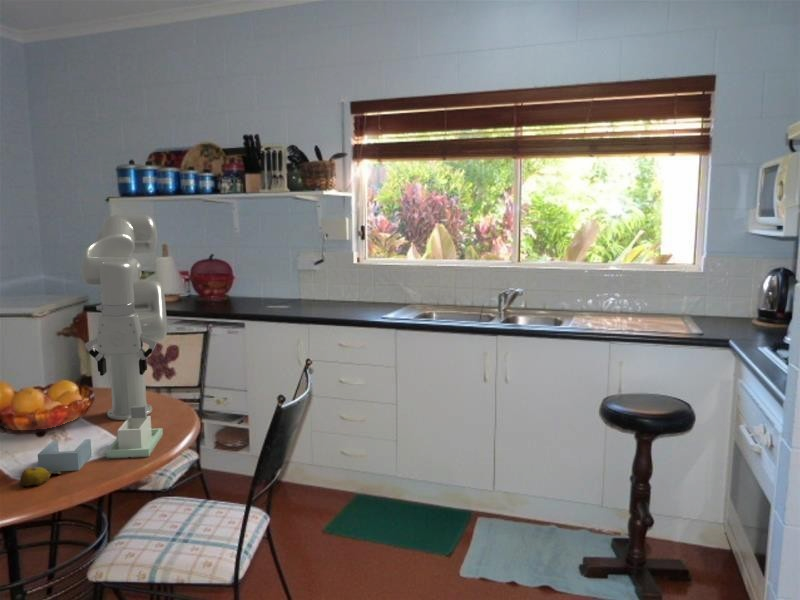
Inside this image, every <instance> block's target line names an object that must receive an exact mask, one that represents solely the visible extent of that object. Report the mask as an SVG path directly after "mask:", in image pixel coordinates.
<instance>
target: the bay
mask: <svg viewBox="0 0 800 600" xmlns="http://www.w3.org/2000/svg"><path fill="white" fill-rule="evenodd" d="M91 441H92V440H91V439H90V438H87V439H84V440H83V441H82V442H81V443H80V445H78V446H77V447H76V448H75V450H70V451H67V450H65V451H64V450H63V451H60V450H59V449H60V448H59V440H52V441H50V443H49V444H47V445H46V446H45V447H44V448H43V449H42V450H41V451H39V453H37V461H38V467H42V468H44V469H46V470H47V471H51V472H56V471H60V472H70V471H71V472H73V471H75V472H76V471H80V470H81V469H82V468H83V466H84V465H85V464H86V463H88V461H89V459H90V458H91V457H92V456H93V455H92V454H93V453H92V442H91ZM91 455H92V456H91Z"/></svg>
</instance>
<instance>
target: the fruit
mask: <svg viewBox="0 0 800 600" xmlns="http://www.w3.org/2000/svg"><path fill="white" fill-rule="evenodd" d="M52 474H53V475H56V474H57V475H61V474H62V471H55V472H51V471H47V470H46V469H44V468H42V467H39V466H38V467H30V468H29V467H28V468H25V469H24V470H23V471H22V473H21V476H20V485H21V487H22V488H25V487H30V486H31V485H33V486H34V485H35V486H41V485H44V484H46V483H47V482H48V481H49V480H50V479H51V478H50V477H51V475H52Z"/></svg>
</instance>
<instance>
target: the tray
mask: <svg viewBox="0 0 800 600" xmlns="http://www.w3.org/2000/svg"><path fill="white" fill-rule="evenodd" d="M163 430H164V429H163V428H162V427H161V428H160V427H158V428H151V432H152V437H151V439H150V440H149V442H148V443H147V445H146V446H145V448H139V449H119V445H118V437H116V439H115V440H114V441H113V443H112V444H111V445H110V446H109V447H108V448H107V450H106V453H105V454H106V459H107V460H108V459H129V458H128V457H131V458H143V457H144V458H147V457H150V456H151V454H152V453H153V451H154V450H155V448H156V446H157V445H158V443H159V442H160V440H161V438H162V437H163V436H164V433H163V432H164V431H163Z"/></svg>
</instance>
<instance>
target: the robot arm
mask: <svg viewBox="0 0 800 600" xmlns="http://www.w3.org/2000/svg"><path fill="white" fill-rule="evenodd" d="M157 229H158V228H157V225H156V223H155V220H154V219H153V218H152V217H151V216H149V215H146V214H113V215H110V216H109V217H107V218H106V219H105V220H104V221H103V226H102V229H101V230H99V231H98V232H97V234H96V241H95V242H93V243H91V244H89V245H88V246H87V247H86V248H85V249H84V250H83V253H82V257H81V264H80V265H81V266H80V275H81V278H82V282H83V283H84V284H85V285H87V286H90V287H100V295H101V297H100V298H101V304H99V305H96V306H95V307H96V309H95V310H96V311H99V312H101V315H99V316H98V320H97V321H98V322H97V337H95V338H93V339H91V340H89V341H87V342H86V343H84V347H85V349H86V350H87V351H88V353H89V355H90V356H91V357H93V358H94V360H95V361H96V362H97V372H99V375H100V376H101V377H102V376H105V375H106V373H107V368H108V367H107V359H106V357H105V356H108V358H109V359H108V361H109V374H110V389H111V401H112V405H111V406H112V407H111V408H110V409H108V411H107V417H108V418H109V419H111V420H115V421H117V420H118V421H126V420H127V419H128V417H131V407H132V406H146V412H147V416H149V415H150V414H151V413H152V412H153V407H152V405H150V404H148V403H147V391H146V390H147V389H146V376H145V375H146V373H145V372H146V371H147V370H148V360H147V358H148V357H149V356H150V355H151V354H152V353H153V352H154V349H155V347H156V345H157V344H158V343H157V342H159V341H162V340H164V339H165V338H166V337H167V334H168V319H167V309H166V307H167V306H166V297H165V296H166V295H165V291H164V287H163V285H162V283H161V282H159V281H157V280H152V279H151V280H140V279H141V278H142V277H141V276H142V265H141V263H140V262H139V261H138V259H136V258H135V257H131V256H132V255H133V254H150V253H151V254H152V253H154V252H155V251H156V249H157V248H158V230H157ZM96 344H97V349H96V348H95V347H94V346H95V345H96ZM144 344H146V345H148V349H147V350H145V349H144V348H143V347H144Z"/></svg>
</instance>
